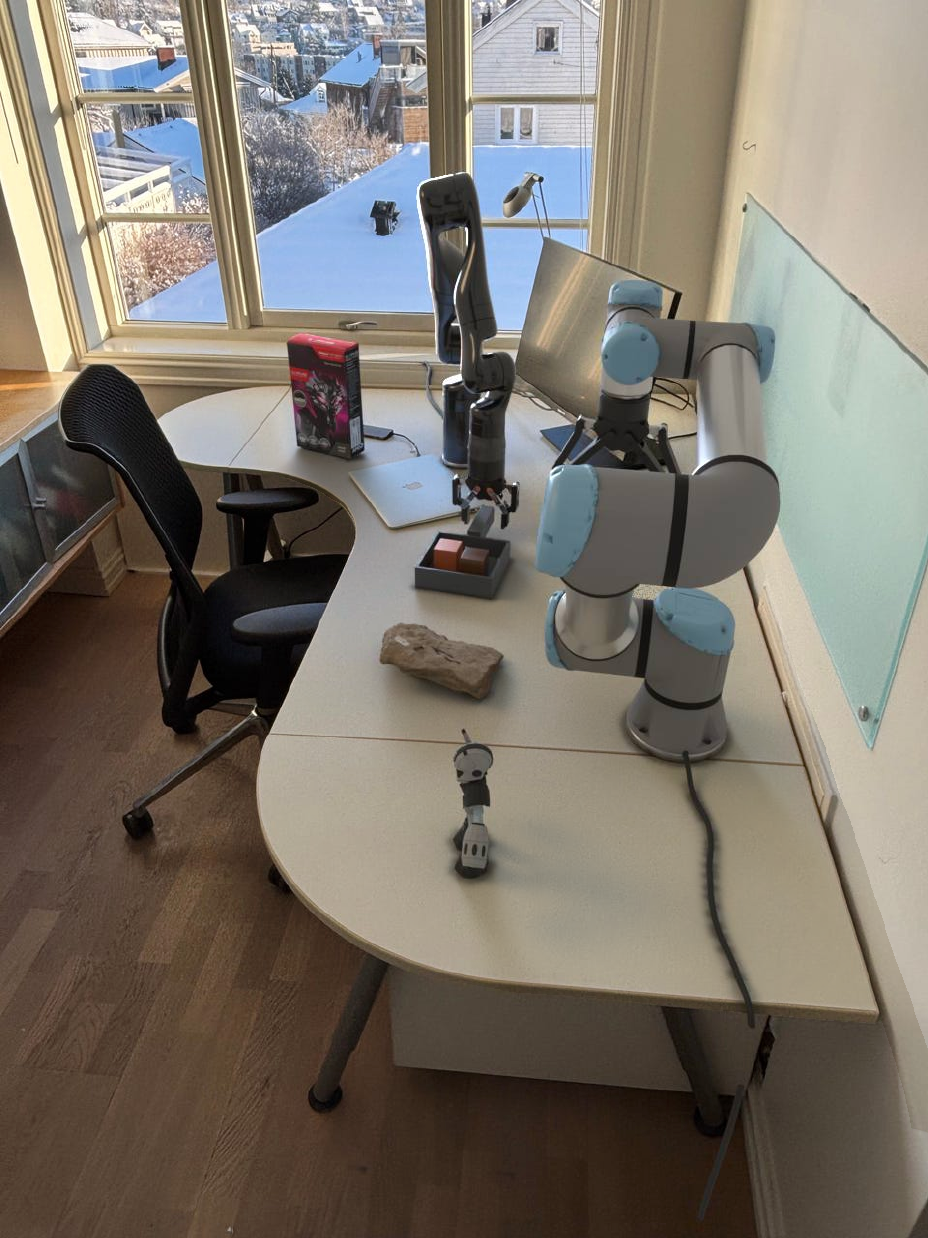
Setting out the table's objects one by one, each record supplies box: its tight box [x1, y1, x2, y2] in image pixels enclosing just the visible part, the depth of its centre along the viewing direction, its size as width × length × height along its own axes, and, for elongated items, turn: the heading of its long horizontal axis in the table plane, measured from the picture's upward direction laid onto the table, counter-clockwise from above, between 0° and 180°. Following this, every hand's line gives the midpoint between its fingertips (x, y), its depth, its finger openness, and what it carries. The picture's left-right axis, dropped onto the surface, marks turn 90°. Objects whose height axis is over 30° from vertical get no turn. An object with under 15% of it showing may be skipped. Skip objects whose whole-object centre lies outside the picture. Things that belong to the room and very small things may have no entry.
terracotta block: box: [434, 538, 463, 572], centre depth 180 cm, size 4×4×6 cm
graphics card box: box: [286, 332, 366, 459], centre depth 224 cm, size 17×7×27 cm, turn 62°
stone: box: [379, 622, 505, 699], centre depth 153 cm, size 21×15×6 cm
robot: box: [452, 728, 494, 879], centre depth 116 cm, size 20×5×20 cm, turn 3°
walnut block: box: [460, 547, 489, 577], centre depth 177 cm, size 4×4×6 cm
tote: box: [414, 504, 511, 600], centre depth 185 cm, size 27×15×6 cm, turn 165°
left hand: (484, 525), depth 194 cm, fingers open, 7 cm apart
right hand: (611, 518), depth 149 cm, fingers open, 13 cm apart
